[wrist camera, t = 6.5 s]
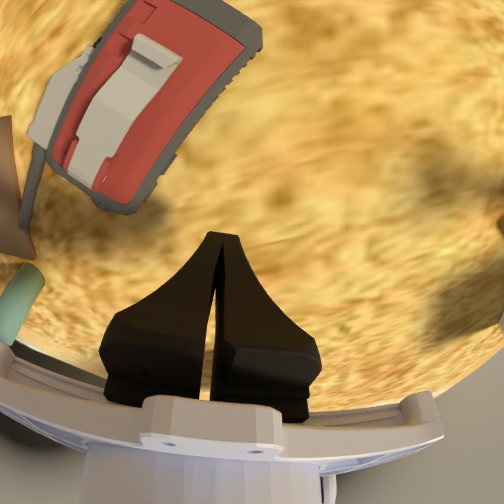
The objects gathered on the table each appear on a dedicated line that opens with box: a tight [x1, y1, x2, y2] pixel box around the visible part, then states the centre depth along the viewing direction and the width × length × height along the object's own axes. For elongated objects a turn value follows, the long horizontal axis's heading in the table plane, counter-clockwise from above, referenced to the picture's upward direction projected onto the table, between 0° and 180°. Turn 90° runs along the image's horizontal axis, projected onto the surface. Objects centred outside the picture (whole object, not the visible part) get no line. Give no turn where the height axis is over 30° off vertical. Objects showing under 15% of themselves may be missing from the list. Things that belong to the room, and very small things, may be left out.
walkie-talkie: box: [18, 0, 263, 231], centre depth 11 cm, size 9×4×20 cm
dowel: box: [0, 263, 45, 346], centre depth 17 cm, size 3×3×7 cm
